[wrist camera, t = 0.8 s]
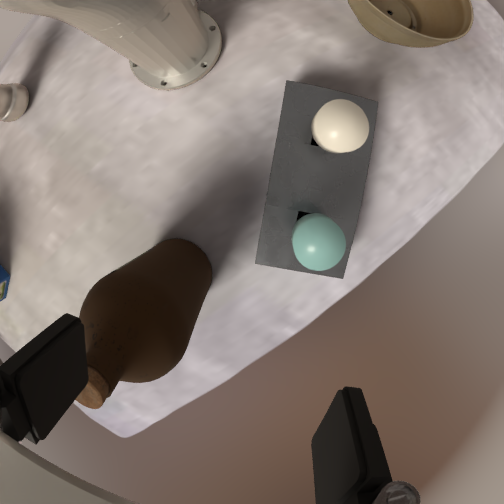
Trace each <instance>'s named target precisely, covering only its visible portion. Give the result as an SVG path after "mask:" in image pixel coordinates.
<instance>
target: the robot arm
mask: <svg viewBox="0 0 504 504" xmlns="http://www.w3.org/2000/svg"><path fill="white" fill-rule="evenodd" d="M197 5H198V3H197V2H196V0H0V8H3V9H6V10H9V11H14V12H20V13H27V14H34V15H41V16H46V17H50V18H54V19H57V20H60V21H62V22H65V23H67V24H69V25H71V26H73V27H75V28H77V29H79V30H81V31H83V32H84V33H86V34H88V35H90V36H91V37H93V38H95V39H96V40H98V41H100V42H101V43H103V44H105V45H106V46H108V47H110V48H111V49H113V50H114V51H116V52H118V53H119V54H121V55H122V56H124V57H126V58H127V59H129V63H130V66H131V70H132V71H133V73H134V75H135V76H136V77H137V78H138V80H139V81H141V82H142V83H144V84H145V85H147V86H149V87H151V88H155V89H158V90H175V89H179V88H183V87H186V86H188V85H191V84H193V83H195V82H196V81H198V80H199V79H201V78H202V77H203V76H204V75H206V74H207V73H208V72H209V71H210V70H211V68H212V67H213V66H214V65H215V63H216V61H217V59H218V58H219V55H220V52H221V48H222V36H221V32H220V29H219V27H218V25H217V23H216V22H215V20H214V19H213V18H212V17H211V16H209V15H208V14H206V13H205V12H203V11H200V10H198V9H197ZM212 30H214V31H212ZM137 65H138V66H137ZM205 65H207V67H205V68H204V66H205ZM165 83H167V85H165ZM88 380H89V375H88V366H87V356H86V345H85V330H84V325H83V324H82V323H81V319H80V318H78V317H75V316H73V315H70V314H68V313H66V314H64V315H63V316H62V317H60V318H59V319H58V320H56V321H55V322H54V323H52V324H51V325H50V326H49V327H47V328H46V329H45V330H44V331H42V332H41V333H40V334H39V335H37V336H36V337H35V338H34V339H32V340H31V341H30V342H29V343H27V344H26V345H25V346H24V347H22V348H21V349H20V350H19V351H18V352H16V353H15V354H14V355H13V356H12V357H10V358H9V359H8V360H7V361H6V362H5V363H3V364H2V365H1V366H0V504H139V503H136V502H134V501H131V500H128V499H126V498H123V497H120V496H118V495H115V494H113V493H111V492H108V491H106V490H104V489H101V488H99V487H97V486H95V485H92V484H90V483H88V482H86V481H84V480H82V479H80V478H78V477H76V476H74V475H72V474H70V473H68V472H67V471H64V470H63V469H61V468H59V467H57V466H56V465H54V464H52V463H50V462H49V461H47V460H45V459H44V458H42V457H40V456H38V455H37V454H35V453H34V452H32V451H30V450H29V449H27V448H26V447H24V446H23V445H22V440H23V439H24V437H25V438H27V439H28V440H30V441H31V442H33V443H34V444H37V443H38V441H39V440H44V439H45V438H46V437H47V435H48V434H49V433H50V431H51V430H52V429H53V427H54V426H55V425H56V423H57V422H58V421H59V420H60V418H61V417H62V416H63V414H64V413H65V412H66V410H67V409H68V408H69V407H70V405H71V404H72V403H73V402H74V400H75V399H76V398H77V397H78V395H79V394H80V393H81V392H82V390H83V389H84V388H85V387H86V385H87V383H88ZM311 446H312V457H313V470H314V483H315V497H316V504H420V495H419V492H418V491H417V489H416V488H415V487H414V486H412V485H411V484H410V483H407V482H404V481H392V477H391V474H390V470H389V467H388V464H387V460H386V457H385V454H384V451H383V447H382V444H381V441H380V437H379V434H378V431H377V428H376V427H375V425H374V424H373V423H372V420H371V417H370V413H369V411H368V407H367V405H366V401H365V398H364V395H363V392H362V390H361V389H360V388H354V387H344V388H343V390H338V392H337V393H336V395H335V397H334V399H333V401H332V403H331V405H330V407H329V409H328V411H327V413H326V415H325V416H324V418H323V420H322V422H321V424H320V425H319V427H318V429H317V431H316V433H315V434H314V436H313V439H312V444H311Z"/></svg>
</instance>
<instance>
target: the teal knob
mask: <svg viewBox="0 0 504 504" xmlns="http://www.w3.org/2000/svg"><path fill="white" fill-rule="evenodd" d="M291 240H292V245H293V249H294V253H295V256H296V258H297V259H298V261H299V262H300V263H301V264H302V265H303V266H304V267H306V268H308V269H311V270H315V271H322V270H327V269H330V268H332V267H333V266H335V265H336V264H337V263H338V262H339V261H340V260H341V258H342V257H343V255H344V252H345V249H346V239H345V236H344V233H343V231H342V230H341V228H340V227H339V226H338V225H337V224H336V223H335V222H334V221H333V220H332V219H330V218H329V217H328V216H326V215H324V214H320V213H311V214H307V215H305V216H303V217H302V218H300V219H299V220H298V221H297V222H296V224H295V225H294V227H293V230H292V235H291Z"/></svg>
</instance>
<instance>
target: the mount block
mask: <svg viewBox="0 0 504 504" xmlns="http://www.w3.org/2000/svg"><path fill="white" fill-rule="evenodd" d="M336 99H345V100H349V101H351V102H353V103H355V104H357V105H358V106H359V107H360V108H361V109H362V110H363V111H364V113H365V114H366V116H367V119H368V122H369V133H368V137H367V139H366V141H365V142H364V144H363V145H362V146H361V147H359V148H358V149H356V150H354V151H350V152H344V153H331V152H328V151H326V150H324V149H322V148H321V147H318V146H314V145H311V139H312V131H311V124H312V120H313V118H314V116H315V115H316V113H317V112H318V111H319V110H320V109H321V107H322V106H323V105H325V104H326V103H327V102H329V101H332V100H336ZM377 108H378V102H376V101H373V100H370V99H366V98H363V97H359V96H355V95H352V94H348V93H344V92H340V91H336V90H332V89H328V88H323V87H319V86H314V85H309V84H304V83H299V82H294V81H288V80H286V86H285V92H284V98H283V104H282V110H281V116H280V122H279V128H278V134H277V139H276V145H275V151H274V157H273V163H272V169H271V174H270V180H269V186H268V192H267V198H266V203H265V209H264V215H263V221H262V226H261V232H260V238H259V243H258V249H257V255H256V261H255V264H260V265H266V266H271V267H277V268H283V269H289V270H294V271H300V272H306V273H312V274H318V275H324V276H329V277H335V278H341V279H343V277H344V273H345V269H346V266H347V262H348V258H349V254H350V250H351V246H352V242H353V238H354V234H355V229H356V225H357V221H358V216H359V211H360V207H361V202H362V197H363V192H364V187H365V182H366V177H367V172H368V166H369V161H370V155H371V149H372V143H373V136H374V130H375V123H376V116H377ZM298 211H302V212H308V213H320V214H324V215H326V216H328V217H329V218H330V219H332V220H333V221H334V222H335V223H336V224H337V225H338V226H339V227H340V228H341V230H342V231H343V233H344V236H345V239H346V249H345V252H344V255H343V257H342V258H341V260H340V261H339V262H338V263H337V264H336V265H335V266H333V267H332V268H330V269H327V270H322V271H315V270H311V269H308V268H306V267H304V266H303V265H302V264H301V263H300V262H299V261H298V259H297V258H296V256H295V253H294V249H293V245H292V240H291V235H292V230H293V227H294V225H295V224H296V221H297V216H298Z"/></svg>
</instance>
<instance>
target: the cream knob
mask: <svg viewBox="0 0 504 504" xmlns="http://www.w3.org/2000/svg"><path fill="white" fill-rule="evenodd" d="M311 131H312V135H313V138H314V140H315V141H316V143H317V144H318V145H319V146H320V147H321V148H322V149H324V150H326V151H328V152H331V153H344V152H350V151H354V150H356V149H358V148H359V147H361V146H362V145H363V144H364V142H365V141H366V139H367V137H368V133H369V122H368V119H367V116H366V114H365V113H364V111H363V110H362V109H361V108H360V107H359V106H358V105H357V104H355V103H353V102H351V101H349V100H345V99H336V100H332V101H329V102H327V103H326V104H325V105H323V106H322V107H321V109H320V110H319V111H318V112H317V113H316V115H315V116H314V118H313V120H312V124H311Z"/></svg>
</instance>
